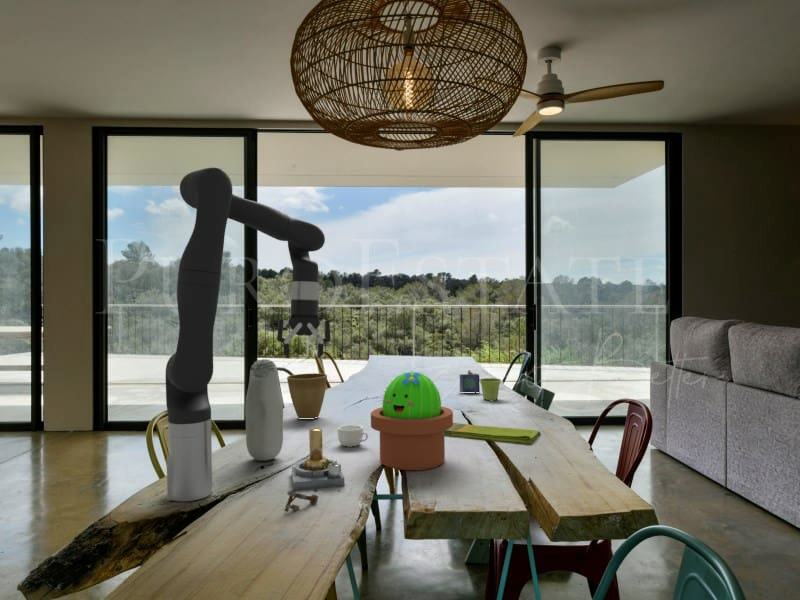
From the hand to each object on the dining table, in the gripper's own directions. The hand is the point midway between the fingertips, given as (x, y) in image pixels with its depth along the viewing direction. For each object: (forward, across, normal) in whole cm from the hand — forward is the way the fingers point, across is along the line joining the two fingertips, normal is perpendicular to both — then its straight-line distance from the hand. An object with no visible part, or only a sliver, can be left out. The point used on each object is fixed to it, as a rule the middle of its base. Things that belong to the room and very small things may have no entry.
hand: (303, 357), depth 149 cm
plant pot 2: (+24, +86, +70) cm, 113 cm away
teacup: (+28, +17, +14) cm, 35 cm away
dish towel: (+27, +59, +16) cm, 67 cm away
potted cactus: (+28, +30, -7) cm, 41 cm away
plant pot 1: (+27, +6, +57) cm, 63 cm away
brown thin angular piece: (+30, -2, -32) cm, 44 cm away
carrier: (+29, +3, -15) cm, 33 cm away
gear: (+27, +3, -13) cm, 30 cm away
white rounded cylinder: (+29, -9, +6) cm, 31 cm away
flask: (+24, +83, +88) cm, 124 cm away
